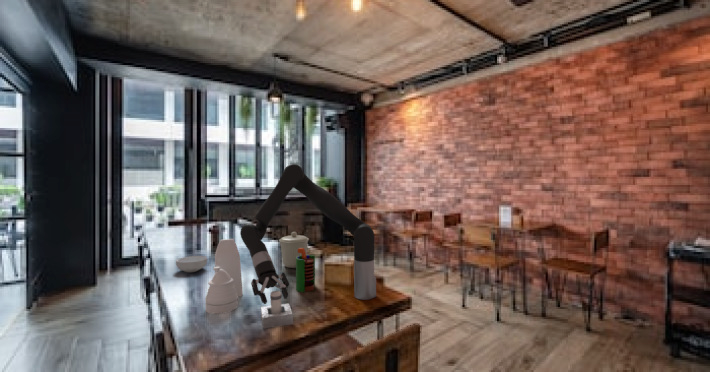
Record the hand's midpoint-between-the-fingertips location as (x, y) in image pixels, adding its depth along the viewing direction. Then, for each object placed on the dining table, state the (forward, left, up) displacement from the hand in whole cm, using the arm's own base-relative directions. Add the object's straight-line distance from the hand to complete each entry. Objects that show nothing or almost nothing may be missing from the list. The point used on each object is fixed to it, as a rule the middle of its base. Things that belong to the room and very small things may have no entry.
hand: (276, 300), depth 135 cm
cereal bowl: (+41, -88, -8) cm, 98 cm away
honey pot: (+21, -21, -8) cm, 31 cm away
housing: (0, 0, -8) cm, 8 cm away
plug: (0, 0, -8) cm, 8 cm away
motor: (-17, -33, -8) cm, 38 cm away
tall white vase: (+19, -39, -8) cm, 44 cm away
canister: (-18, -77, -8) cm, 80 cm away
